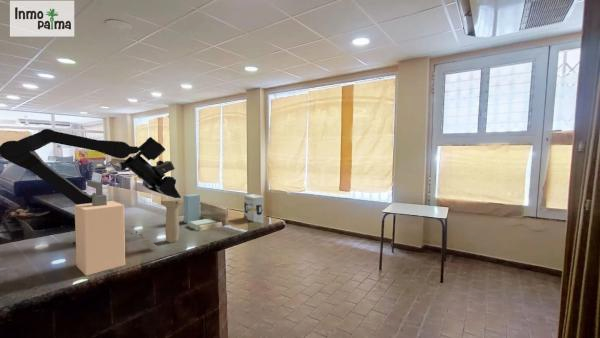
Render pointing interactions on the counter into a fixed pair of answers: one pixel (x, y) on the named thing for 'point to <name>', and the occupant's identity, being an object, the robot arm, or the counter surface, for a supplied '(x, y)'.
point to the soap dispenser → (99, 233)
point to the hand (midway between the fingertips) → (174, 196)
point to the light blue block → (191, 207)
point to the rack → (212, 215)
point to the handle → (172, 218)
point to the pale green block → (200, 223)
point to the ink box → (253, 208)
